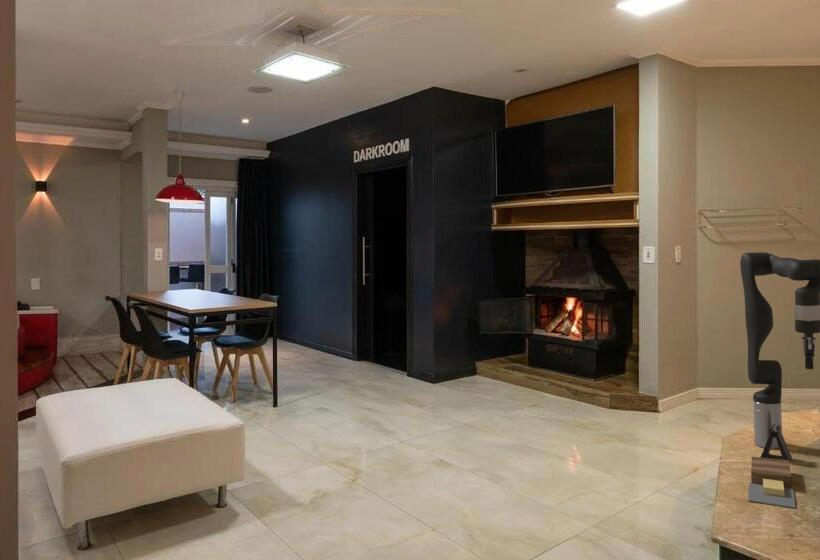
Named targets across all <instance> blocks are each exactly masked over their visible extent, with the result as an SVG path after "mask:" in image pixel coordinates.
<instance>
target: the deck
mask: <svg viewBox="0 0 820 560" xmlns="http://www.w3.org/2000/svg"><path fill="white" fill-rule="evenodd" d="M760 457H761V456H760ZM760 457H759V456H751V466H750V467H751V470H750V472H751V475H750V476H751V480H750V481H751V482H750V483H754V484H761V485H763V478H764V479H772V480H780V481H783V485H784V488H791V489H793V488H792V471H791V464H790V462H791V461H790V462H789V461H787V460H778V459H769V458H760Z"/></svg>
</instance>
